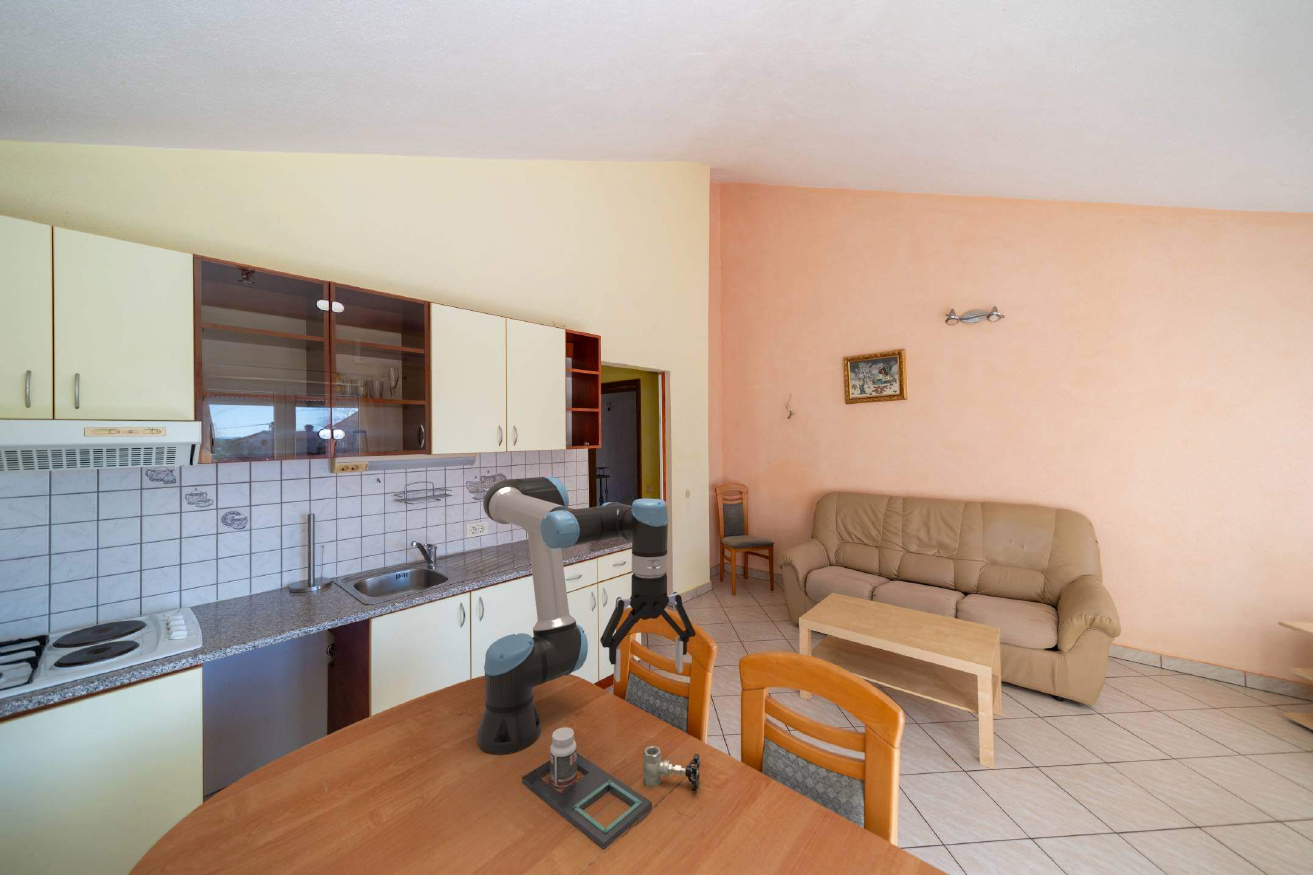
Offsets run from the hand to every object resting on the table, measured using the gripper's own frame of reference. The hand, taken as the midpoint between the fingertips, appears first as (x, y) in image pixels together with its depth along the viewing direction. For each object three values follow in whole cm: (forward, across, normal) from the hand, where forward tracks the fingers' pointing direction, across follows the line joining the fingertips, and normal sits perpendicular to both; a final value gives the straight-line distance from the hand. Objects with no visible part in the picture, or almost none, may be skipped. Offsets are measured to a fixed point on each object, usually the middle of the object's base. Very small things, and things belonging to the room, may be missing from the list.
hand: (648, 674), depth 100 cm
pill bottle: (+25, -17, +8) cm, 31 cm away
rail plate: (+25, -13, +2) cm, 28 cm away
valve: (+25, +5, 0) cm, 25 cm away
